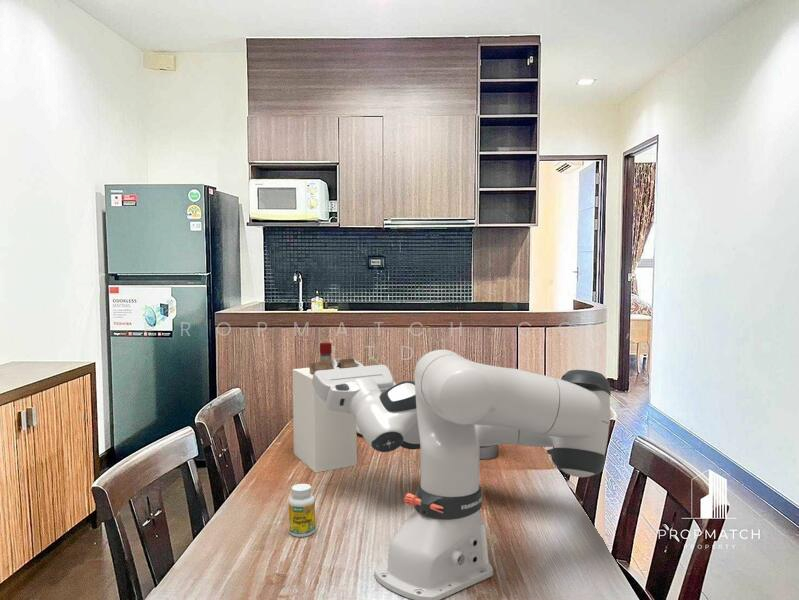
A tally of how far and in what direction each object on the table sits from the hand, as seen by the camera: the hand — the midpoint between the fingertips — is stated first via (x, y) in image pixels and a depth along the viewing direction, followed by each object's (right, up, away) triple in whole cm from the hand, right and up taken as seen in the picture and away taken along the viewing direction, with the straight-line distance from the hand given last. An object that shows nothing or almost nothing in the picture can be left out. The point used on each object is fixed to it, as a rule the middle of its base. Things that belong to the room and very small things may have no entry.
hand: (342, 360), depth 155 cm
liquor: (-9, -28, +38) cm, 48 cm away
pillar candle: (+38, -29, +19) cm, 52 cm away
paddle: (-3, -3, +5) cm, 6 cm away
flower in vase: (+6, -28, +41) cm, 50 cm away
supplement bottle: (-6, -33, -30) cm, 45 cm away
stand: (-7, -30, +15) cm, 34 cm away
